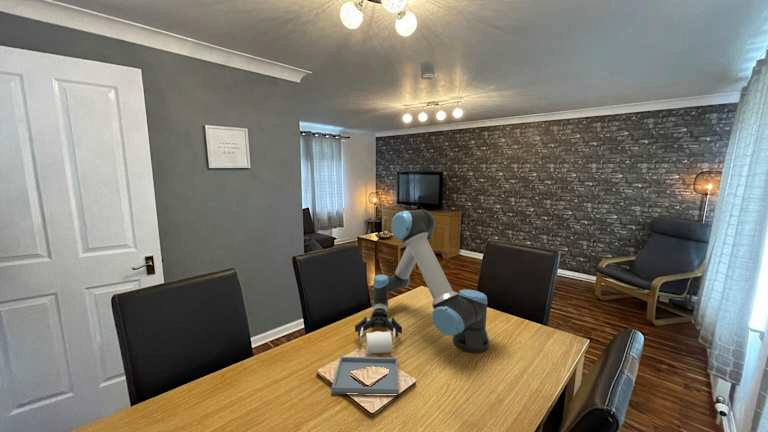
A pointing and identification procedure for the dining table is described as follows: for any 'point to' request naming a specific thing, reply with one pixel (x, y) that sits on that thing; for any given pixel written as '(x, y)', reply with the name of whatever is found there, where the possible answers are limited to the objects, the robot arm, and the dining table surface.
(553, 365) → the dining table surface
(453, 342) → the robot arm
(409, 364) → the dining table surface
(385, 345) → the mug
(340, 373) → the tray
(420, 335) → the dining table surface
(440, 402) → the dining table surface
